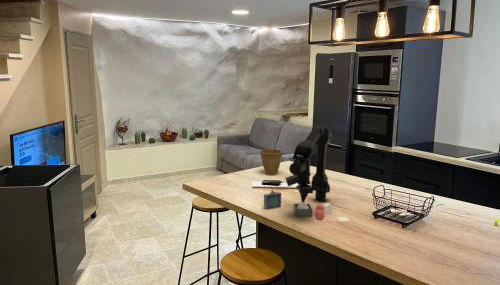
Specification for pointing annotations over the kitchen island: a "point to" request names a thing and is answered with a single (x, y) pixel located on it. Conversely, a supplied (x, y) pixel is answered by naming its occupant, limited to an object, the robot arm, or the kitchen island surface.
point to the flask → (272, 200)
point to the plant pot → (271, 160)
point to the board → (334, 219)
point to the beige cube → (327, 208)
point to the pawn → (319, 212)
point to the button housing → (302, 211)
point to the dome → (302, 206)
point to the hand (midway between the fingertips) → (302, 201)
